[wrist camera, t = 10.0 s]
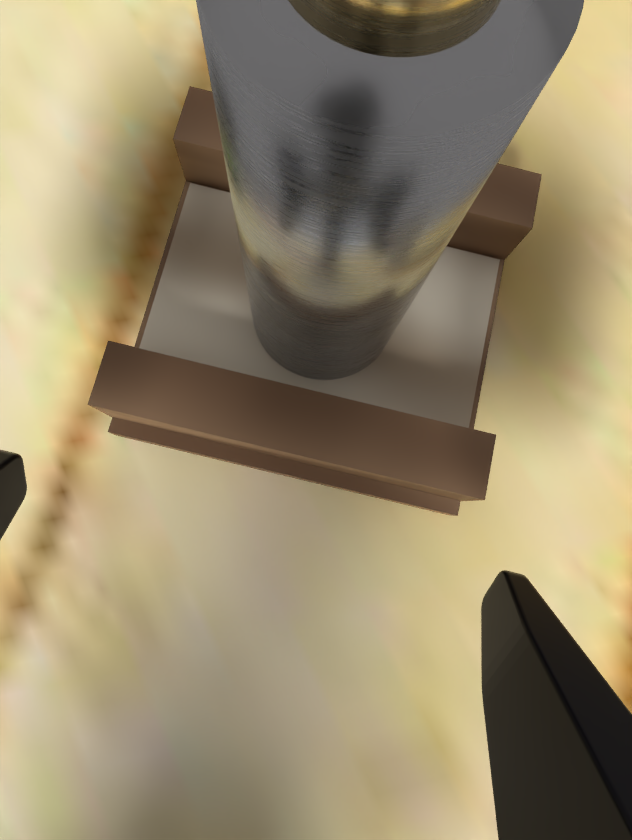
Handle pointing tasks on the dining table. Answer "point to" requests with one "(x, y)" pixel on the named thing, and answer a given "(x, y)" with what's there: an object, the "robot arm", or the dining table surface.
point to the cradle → (303, 397)
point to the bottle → (363, 150)
